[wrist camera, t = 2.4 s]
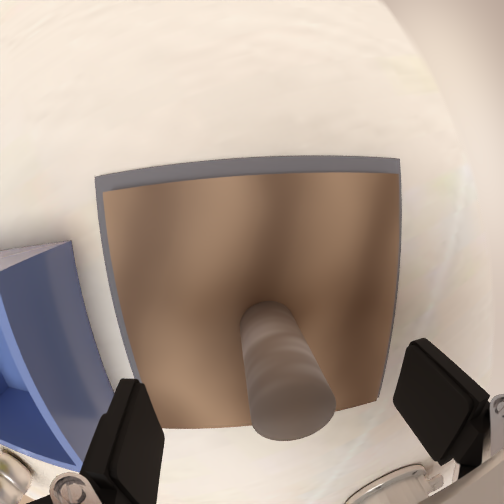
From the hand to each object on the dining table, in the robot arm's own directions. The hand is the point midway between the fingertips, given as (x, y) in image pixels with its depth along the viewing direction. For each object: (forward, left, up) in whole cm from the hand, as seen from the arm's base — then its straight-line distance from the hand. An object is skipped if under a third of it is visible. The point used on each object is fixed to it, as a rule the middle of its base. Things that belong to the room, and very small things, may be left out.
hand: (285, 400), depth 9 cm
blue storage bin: (+18, +2, -9) cm, 20 cm away
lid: (0, +1, -8) cm, 8 cm away
